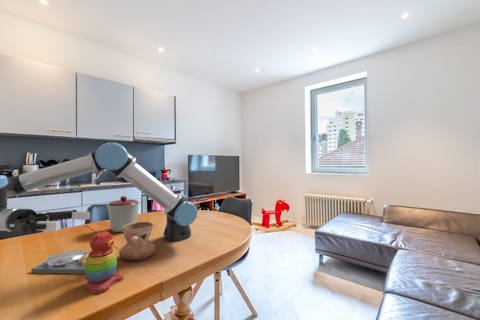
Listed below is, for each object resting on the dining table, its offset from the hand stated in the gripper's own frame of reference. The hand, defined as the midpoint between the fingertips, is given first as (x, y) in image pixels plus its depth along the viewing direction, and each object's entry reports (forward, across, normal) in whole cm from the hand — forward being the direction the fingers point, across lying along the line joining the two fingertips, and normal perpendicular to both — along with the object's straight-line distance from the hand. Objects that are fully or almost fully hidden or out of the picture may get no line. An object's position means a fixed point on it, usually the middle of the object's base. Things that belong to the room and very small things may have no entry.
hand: (74, 220), depth 76 cm
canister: (-18, -59, -22) cm, 66 cm away
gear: (-16, -14, -20) cm, 29 cm away
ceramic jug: (+11, -22, -22) cm, 33 cm away
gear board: (-11, -14, -22) cm, 28 cm away
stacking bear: (+10, 0, -22) cm, 24 cm away
